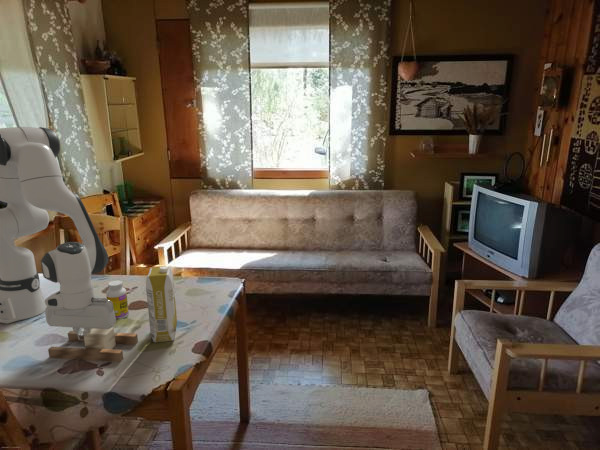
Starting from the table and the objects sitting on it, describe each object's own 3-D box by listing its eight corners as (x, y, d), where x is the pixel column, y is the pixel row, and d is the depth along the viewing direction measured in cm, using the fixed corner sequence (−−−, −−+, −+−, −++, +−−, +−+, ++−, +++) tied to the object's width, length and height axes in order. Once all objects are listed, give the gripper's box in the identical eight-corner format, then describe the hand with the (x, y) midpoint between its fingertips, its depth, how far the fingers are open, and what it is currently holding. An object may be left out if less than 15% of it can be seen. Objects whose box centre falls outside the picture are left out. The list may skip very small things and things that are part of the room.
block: (86, 354, 130) (83, 336, 128) (97, 344, 135) (95, 326, 134) (105, 355, 129) (103, 337, 127) (115, 345, 135) (113, 327, 133)
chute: (50, 361, 128) (47, 348, 127) (72, 342, 139) (70, 330, 138) (121, 365, 126) (119, 352, 125) (138, 345, 137) (137, 333, 136)
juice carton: (176, 342, 139) (170, 271, 133) (150, 344, 137) (143, 273, 131) (178, 328, 148) (172, 261, 142) (154, 330, 146) (147, 263, 140)
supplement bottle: (122, 321, 152) (117, 287, 149) (105, 319, 154) (100, 285, 150) (132, 312, 159) (129, 280, 155) (116, 311, 160) (112, 278, 157)
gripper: (117, 294, 130) (122, 335, 134) (53, 291, 132) (59, 332, 136) (106, 303, 124) (111, 346, 128) (39, 300, 126) (46, 342, 130)
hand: (84, 339), depth 132 cm, fingers closed
